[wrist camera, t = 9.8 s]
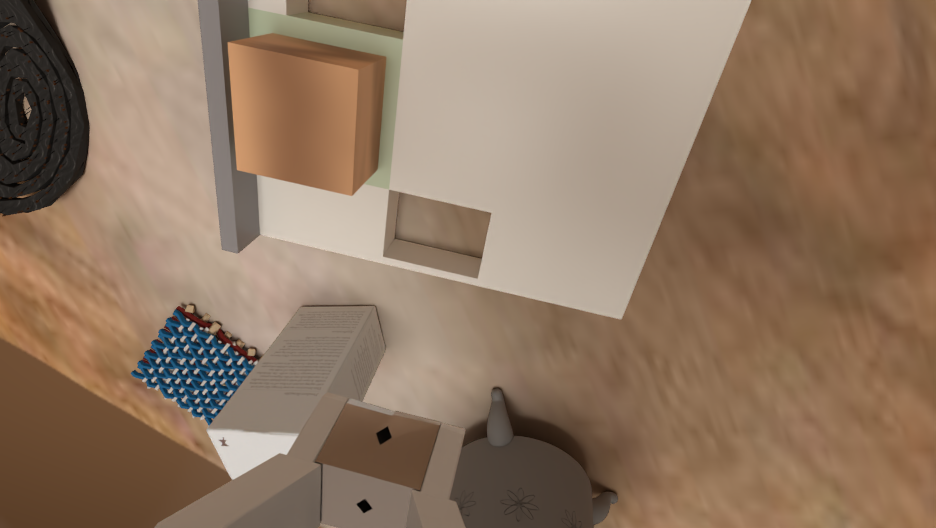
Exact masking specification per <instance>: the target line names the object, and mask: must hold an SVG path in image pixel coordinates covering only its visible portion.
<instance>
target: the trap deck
mask: <svg viewBox="0 0 936 528" xmlns="http://www.w3.org/2000/svg"><path fill="white" fill-rule="evenodd" d="M750 3H751V0H407V3H406V14H405V25H404V32H402V31H397V30H392V29H387V28H382V27H377V26H373V25H368V24H363V23H358V22H353V21H348V20H344V19H339V18H334V17H329V16H324V15H319V14H315V13H310V12H308V0H198V9H199V19H200V29H201V40H202V50H203V60H204V70H205V81H206V91H207V101H208V112H209V122H210V132H211V143H212V153H213V163H214V174H215V184H216V194H217V204H218V215H219V225H220V235H221V246H222V250H225V251H229V252H233V253H239V252H240V251H242V250H243V249H244V248H245V247H246V246H247V245H249V244H250V243H251V242H252V241H253V240H254V239H256V238H257V237H258V236H259V235H263V236H267V237H271V238H275V239H280V240H284V241H288V242H293V243H297V244H301V245H305V246H310V247H314V248H318V249H322V250H327V251H331V252H335V253H339V254H344V255H348V256H352V257H356V258H361V259H365V260H369V261H374V262H378V263H382V264H386V265H391V266H395V267H399V268H403V269H408V270H412V271H416V272H420V273H425V274H429V275H433V276H437V277H442V278H446V279H450V280H455V281H459V282H463V283H467V284H472V285H476V286H480V287H484V288H489V289H493V290H497V291H501V292H506V293H510V294H514V295H518V296H523V297H527V298H531V299H536V300H540V301H544V302H548V303H553V304H557V305H561V306H565V307H570V308H574V309H578V310H582V311H587V312H591V313H595V314H599V315H604V316H608V317H612V318H617V319H622V317H623V314H624V312H625V310H626V307H627V305H628V302H629V300H630V297H631V295H632V292H633V290H634V287H635V285H636V283H637V280H638V278H639V275H640V273H641V270H642V268H643V265H644V263H645V260H646V258H647V256H648V253H649V251H650V248H651V246H652V243H653V241H654V238H655V236H656V233H657V231H658V229H659V226H660V224H661V221H662V219H663V216H664V214H665V211H666V209H667V206H668V204H669V202H670V199H671V197H672V194H673V192H674V189H675V187H676V184H677V182H678V179H679V177H680V175H681V172H682V170H683V167H684V165H685V162H686V160H687V157H688V155H689V152H690V150H691V148H692V145H693V143H694V140H695V138H696V135H697V133H698V130H699V128H700V125H701V123H702V121H703V118H704V116H705V113H706V111H707V108H708V106H709V103H710V101H711V98H712V96H713V94H714V91H715V89H716V86H717V84H718V81H719V79H720V76H721V74H722V71H723V69H724V67H725V64H726V62H727V59H728V57H729V54H730V52H731V49H732V47H733V44H734V42H735V40H736V37H737V35H738V32H739V30H740V27H741V25H742V22H743V20H744V17H745V15H746V13H747V10H748V8H749V5H750ZM270 33H275V34H280V35H284V36H289V37H294V38H299V39H304V40H308V41H313V42H318V43H323V44H328V45H332V46H337V47H342V48H347V49H351V50H356V51H361V52H366V53H371V54H375V55H380V56H385V57H386V69H385V82H384V95H383V108H382V121H381V134H380V146H379V159H378V170H377V171H376V172H375V173H374V174H373V175H372V176H371V177H370V178H369V179H368V180H367V181H366V182H365V183H364V184H363V185H362V186H361V187H360V188H359V189H358V191H357V192H356V193H355V194H354V195H353V196H349V195H345V194H340V193H336V192H331V191H327V190H322V189H318V188H314V187H309V186H305V185H300V184H296V183H292V182H287V181H283V180H278V179H274V178H269V177H265V176H261V175H256V174H252V173H247V172H243V171H239V170H237V165H236V151H235V138H234V124H233V111H232V97H231V84H230V70H229V56H228V43H227V42H230V41H235V40H240V39H245V38H250V37H255V36H260V35H265V34H270ZM399 192H402V193H406V194H411V195H415V196H419V197H424V198H428V199H433V200H437V201H442V202H446V203H450V204H455V205H459V206H464V207H468V208H473V209H477V210H481V211H486V212H490V213H492V214H491V218H490V223H489V228H488V233H487V237H486V242H485V247H484V252H483V256H482V259H481V258H476V257H472V256H468V255H463V254H459V253H455V252H451V251H446V250H442V249H438V248H433V247H429V246H425V245H420V244H416V243H412V242H407V241H403V240H399V239H395V229H396V220H397V210H398V201H399Z"/></svg>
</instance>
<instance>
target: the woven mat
mask: <svg viewBox="0 0 936 528" xmlns="http://www.w3.org/2000/svg"><path fill="white" fill-rule="evenodd" d="M194 312H195V307H194V306H193V305H187V307H186V310H185V309H183V308H181V307H180V306H178V307H177V308H176V310H175V311H174V313H173V315H175V316H176V318H178V320H177V319H176V318H174V317H170V318H167V320H166V322H167V323H166V325H165V327H164V328H166V329H168V330H170V332H169V331H167V330H166V329H160V330H159V332H158V333H159V335H158V337H159V338H161V339H162V342H161V341H159V340H158V339H155V340H153V341H152V342H151V344H152V346H151V348H152V349H153V350H154V351H156V352H154V351H153V350H151V349H150V350H147V351H145V353H144V354H145V356H144V357H143V360H141V361H139V362H138V363H137V364H138V367H137V368H139V369H141V371H142V373H138V372H137V371H136V370H134V371H132V372H131V374H132V375H133V376H134V377H135V378H139V379H143V380H142V381H143V382H145V383H147V388H149V389H150V388H151V387H152V388H155V390H157V391H158V389H160V390H161V392H162V393H163V395H164V399H167V398H171V399H172V401H174V402H175V401H177V403H178V407H181V408H185V409H188V412H191V411H192V415H193V416H192V417H193V418H195V417H201V418H200V420H203V419H204V418H205V420H206V421H207V423H208V426H207V427H209V426H210V424H211V423H212V422H213V420H214V419H215V418H216V416H217V415H218V414H219V413H220V411H221V410H222V409H223V407H224V406H225V405H226V403H227V402H228V401H229V400H230V398H231V397H232V396H233V394H234V393H235V392H236V390H237V389H238V388H239V387H240V385H241V384H242V383H243V381H244V380H245V379H246V377H247V376H248V375H249V373H250V372H251V371H252V370H253V368H254V367H255V366H256V364H257V363H258V362H259V360H260V359H261V358H262V356H263V355H262V356H261V357H260V358H259V359H258V360H257V359H256V358H254V357H253V356H255V354H256V350H255V349H254V348H249V349H248V350H247V352H246V351H244V350H243V349H242V348H243V346H244V345H245V343H244V342H242V341H241V340H239V339H238V340H237V341H236V342H235V341H234V342H232V341H230V340H229V339H230V338H231V336H232V334H231V333H229V332H228V331H227V332H226V333H225V334H223V332H222V330H221V329H220V327H221V326H220V325H219V324H218V323H216V322H214V323H213V324H212V323H207V321H208V319H209V318H210V315H208V314H207V313H206V314H205V315H204V316H203V317H202V318H201V319H199V318H198V317H196V316H194V315H193V313H194ZM190 320H191V321H192V322H191V321H190ZM203 328H206V329H205V330H203ZM216 334H217V336H218V338H219V341H218V340H217V339H216V337H215V335H216ZM180 338H181V339H180ZM209 343H212V344H209ZM209 350H210V351H209ZM188 351H189V352H188ZM225 351H227V352H226V353H225V354H224V352H225ZM144 359H145V360H144ZM146 360H147V361H149V362H147V361H146ZM200 360H203V361H202V362H201V361H200ZM237 361H238V362H237ZM194 370H195V371H194ZM228 371H229V372H228ZM244 372H245V373H244ZM243 373H244V374H243ZM151 379H152V380H151ZM155 380H156V382H157V383H155ZM201 382H202V383H201ZM167 389H168V391H167ZM178 389H180V390H178ZM172 392H173V394H171V393H172ZM181 398H183V399H181ZM185 400H186V403H184V402H185ZM219 400H220V402H219ZM197 409H198V410H197ZM211 418H213V420H212V419H211Z"/></svg>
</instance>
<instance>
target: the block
mask: <svg viewBox="0 0 936 528" xmlns="http://www.w3.org/2000/svg"><path fill="white" fill-rule="evenodd" d="M227 43H228V56H229V70H230V84H231V97H232V111H233V124H234V138H235V151H236V165H237V170H239V171H243V172H247V173H252V174H256V175H261V176H265V177H269V178H274V179H278V180H283V181H287V182H292V183H296V184H300V185H305V186H309V187H314V188H318V189H322V190H327V191H331V192H336V193H340V194H345V195H349V196H353V195H354V194H355V193H356V192H357V191H358V189H359V188H360V187H361V186H362V185H363V184H364V183H365V182H366V181H367V180H368V179H369V178H370V177H371V176H372V175H373V174H374V173H375V172H376V171H377V170H378V159H379V146H380V134H381V121H382V108H383V95H384V82H385V69H386V57H385V56H380V55H375V54H371V53H366V52H361V51H356V50H351V49H347V48H342V47H337V46H332V45H328V44H323V43H318V42H313V41H308V40H304V39H299V38H294V37H289V36H284V35H280V34H275V33H270V34H265V35H260V36H255V37H250V38H245V39H240V40H235V41H230V42H227Z"/></svg>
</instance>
